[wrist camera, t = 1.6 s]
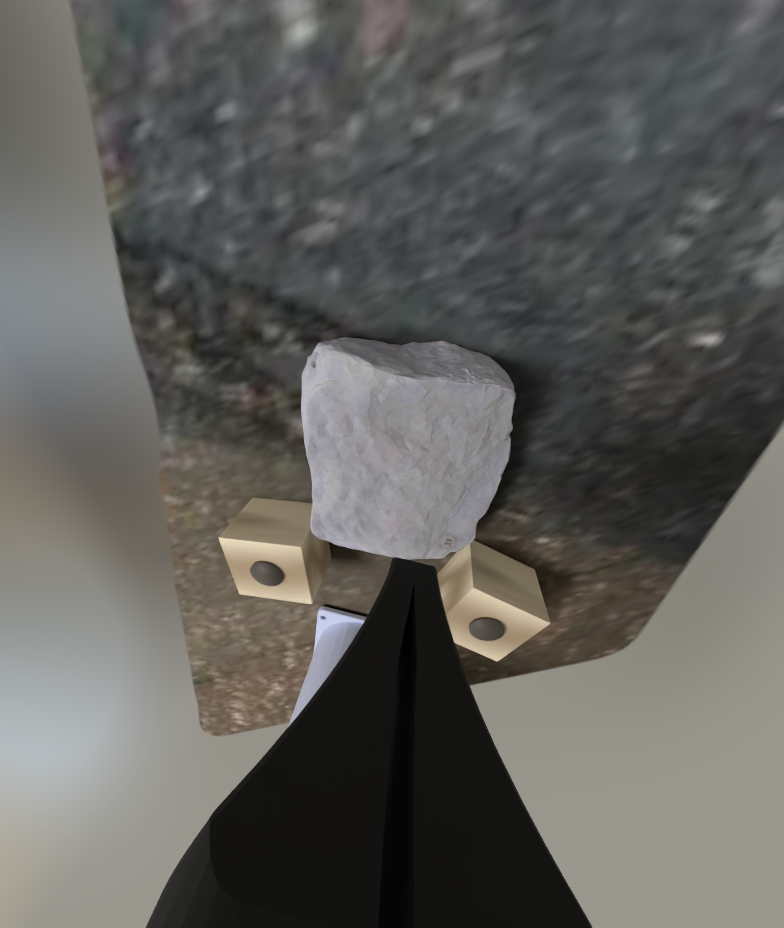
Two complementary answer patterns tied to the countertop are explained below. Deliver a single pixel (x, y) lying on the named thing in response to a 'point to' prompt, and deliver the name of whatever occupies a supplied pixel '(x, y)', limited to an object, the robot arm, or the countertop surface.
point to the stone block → (403, 444)
